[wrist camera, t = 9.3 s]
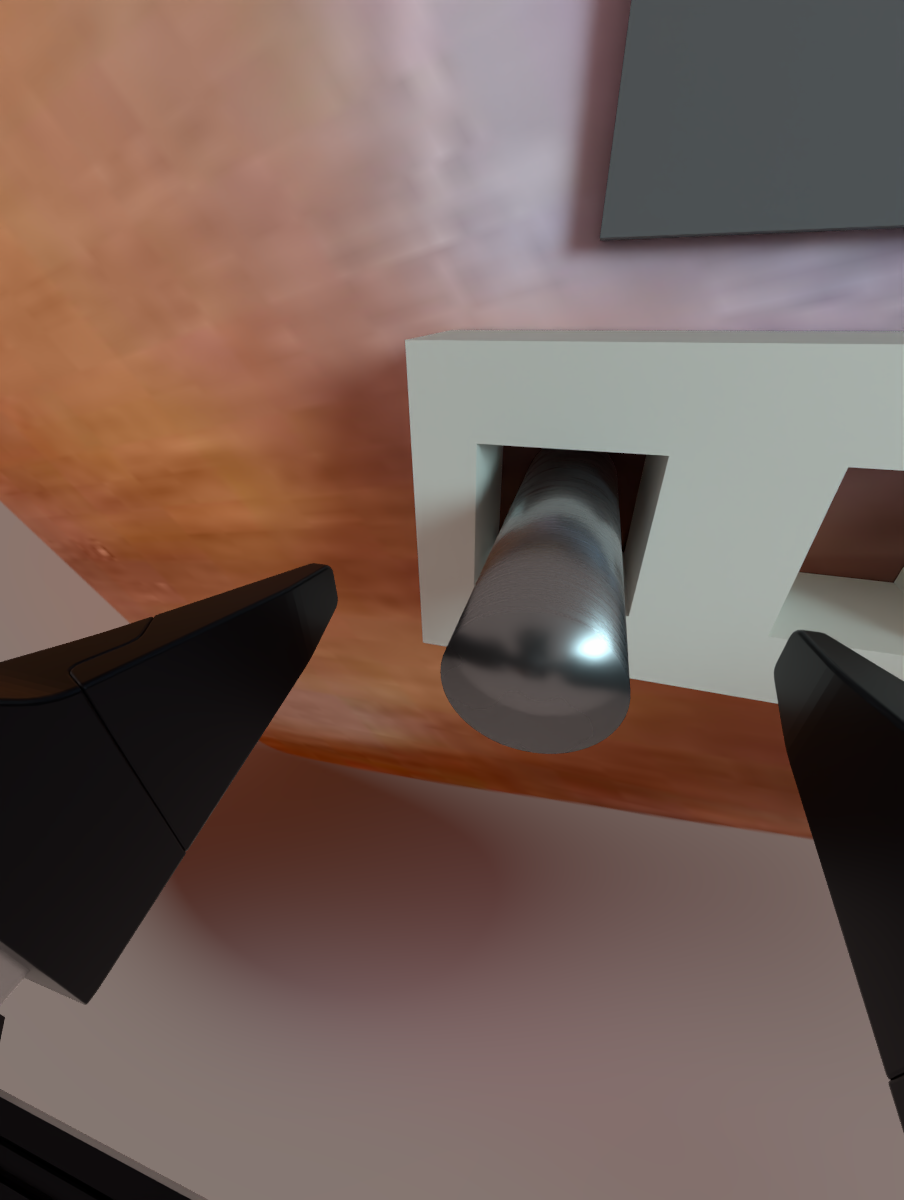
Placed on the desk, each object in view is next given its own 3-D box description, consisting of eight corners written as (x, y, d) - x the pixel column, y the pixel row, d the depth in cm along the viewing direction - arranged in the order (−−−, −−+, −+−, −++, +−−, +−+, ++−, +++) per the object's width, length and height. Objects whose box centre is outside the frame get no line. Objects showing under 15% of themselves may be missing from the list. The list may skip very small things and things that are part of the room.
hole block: (1148, 332, 10) (1404, 348, 7) (920, 647, 15) (1006, 743, 12) (452, 329, 14) (405, 339, 11) (454, 583, 19) (423, 642, 16)
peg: (625, 440, 14) (651, 629, 6) (608, 530, 16) (610, 769, 8) (529, 435, 15) (437, 597, 7) (522, 521, 16) (442, 733, 8)
